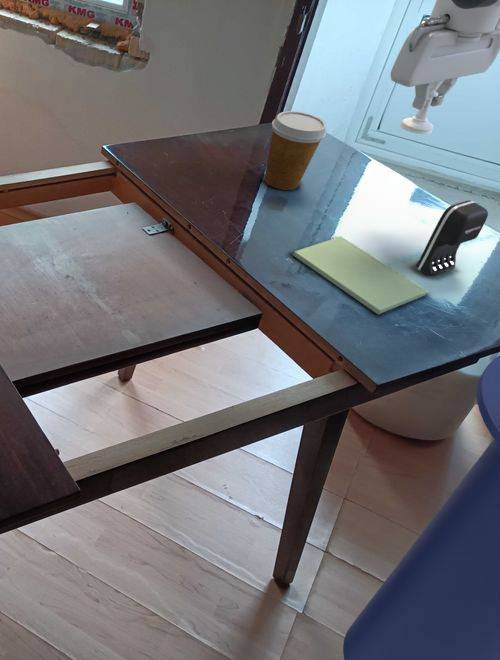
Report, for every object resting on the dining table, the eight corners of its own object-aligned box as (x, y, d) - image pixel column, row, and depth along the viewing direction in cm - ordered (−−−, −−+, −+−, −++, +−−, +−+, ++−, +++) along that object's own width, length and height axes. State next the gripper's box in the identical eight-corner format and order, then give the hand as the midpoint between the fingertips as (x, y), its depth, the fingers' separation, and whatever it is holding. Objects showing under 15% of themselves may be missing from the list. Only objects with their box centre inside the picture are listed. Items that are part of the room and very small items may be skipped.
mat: (425, 295, 105) (427, 291, 104) (377, 314, 100) (380, 310, 100) (339, 240, 115) (340, 236, 115) (292, 255, 111) (294, 251, 110)
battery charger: (432, 281, 108) (467, 217, 100) (412, 268, 110) (445, 205, 102) (460, 271, 110) (497, 208, 103) (440, 258, 113) (474, 196, 105)
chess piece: (433, 136, 108) (462, 72, 102) (400, 130, 110) (426, 66, 103) (431, 125, 112) (459, 62, 105) (399, 120, 113) (425, 57, 107)
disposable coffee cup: (284, 167, 135) (304, 107, 127) (317, 190, 128) (340, 128, 120) (245, 174, 131) (263, 113, 124) (277, 197, 125) (298, 135, 117)
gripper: (440, 24, 93) (399, 123, 102) (527, 12, 101) (482, 104, 110) (401, 12, 97) (365, 108, 106) (488, 1, 106) (448, 91, 115)
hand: (425, 106), depth 108 cm, fingers closed on chess piece
